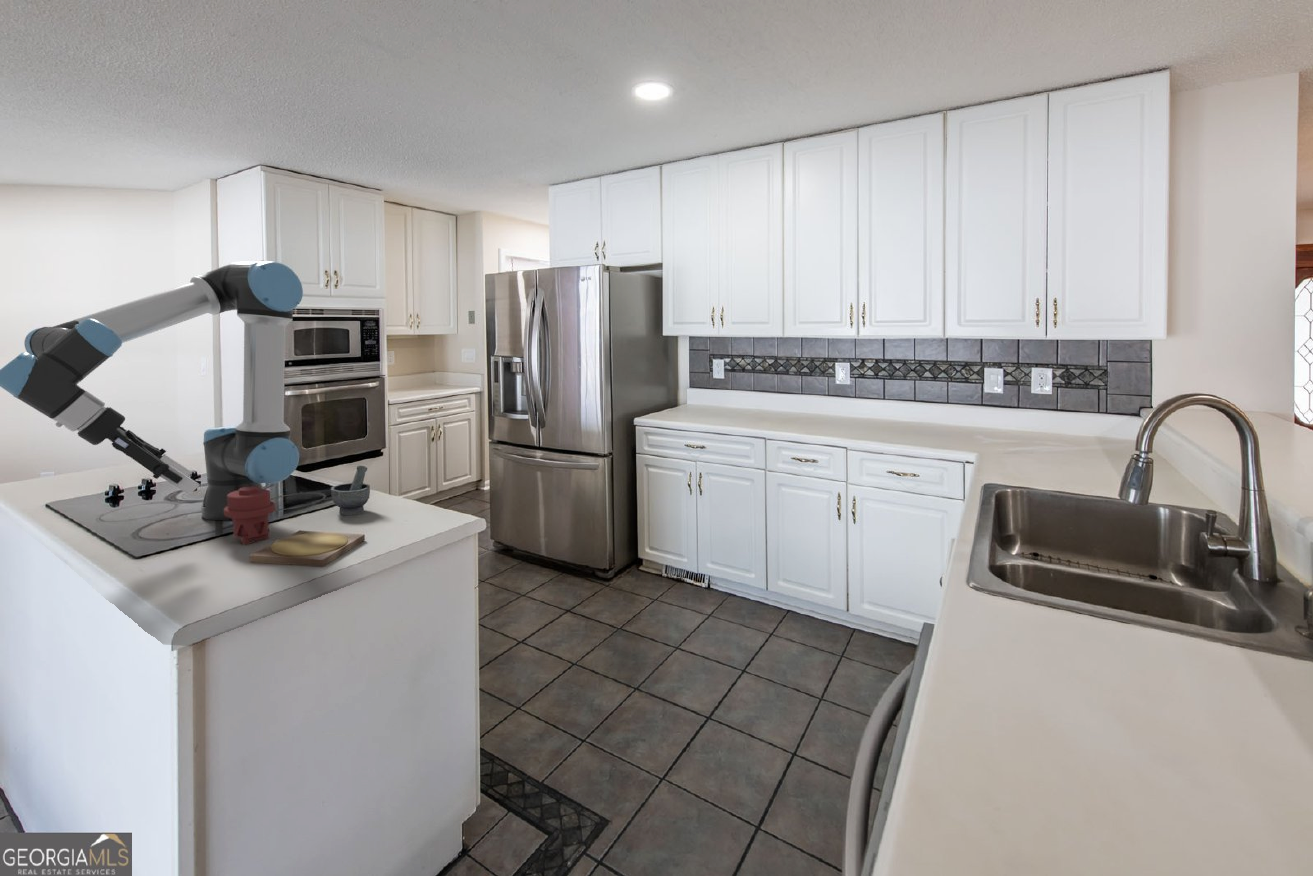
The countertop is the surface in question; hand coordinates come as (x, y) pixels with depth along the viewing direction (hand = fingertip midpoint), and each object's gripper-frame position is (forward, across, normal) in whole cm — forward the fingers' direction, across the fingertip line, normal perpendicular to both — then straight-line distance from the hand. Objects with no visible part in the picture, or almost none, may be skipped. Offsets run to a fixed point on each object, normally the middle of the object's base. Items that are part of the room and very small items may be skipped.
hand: (191, 483), depth 138 cm
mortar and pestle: (+36, -11, +15) cm, 41 cm away
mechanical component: (+18, 0, -3) cm, 18 cm away
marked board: (+24, +15, +3) cm, 29 cm away
